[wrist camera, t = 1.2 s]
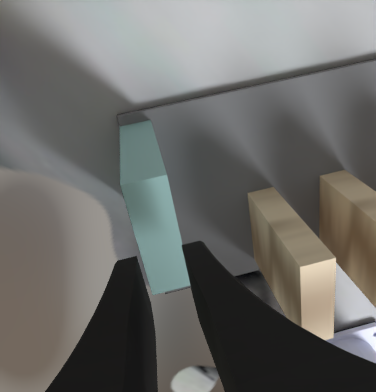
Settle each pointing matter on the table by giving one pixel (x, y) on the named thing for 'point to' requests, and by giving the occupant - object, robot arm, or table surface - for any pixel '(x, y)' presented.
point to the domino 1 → (151, 208)
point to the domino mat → (262, 151)
